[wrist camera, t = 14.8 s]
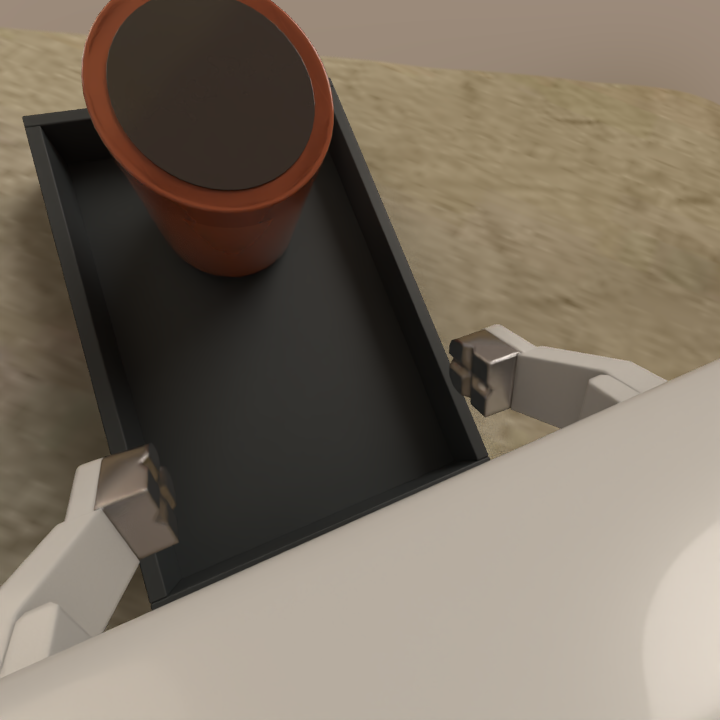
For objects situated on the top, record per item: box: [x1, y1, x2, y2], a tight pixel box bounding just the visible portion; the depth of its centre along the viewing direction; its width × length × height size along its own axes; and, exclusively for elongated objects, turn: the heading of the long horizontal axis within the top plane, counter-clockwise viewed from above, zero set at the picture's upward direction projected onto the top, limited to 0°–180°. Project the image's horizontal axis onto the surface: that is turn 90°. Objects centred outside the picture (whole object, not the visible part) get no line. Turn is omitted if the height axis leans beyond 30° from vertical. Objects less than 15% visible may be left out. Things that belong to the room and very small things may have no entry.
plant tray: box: [22, 78, 490, 611], centre depth 19 cm, size 21×14×3 cm
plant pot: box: [81, 0, 334, 277], centre depth 16 cm, size 7×7×9 cm
